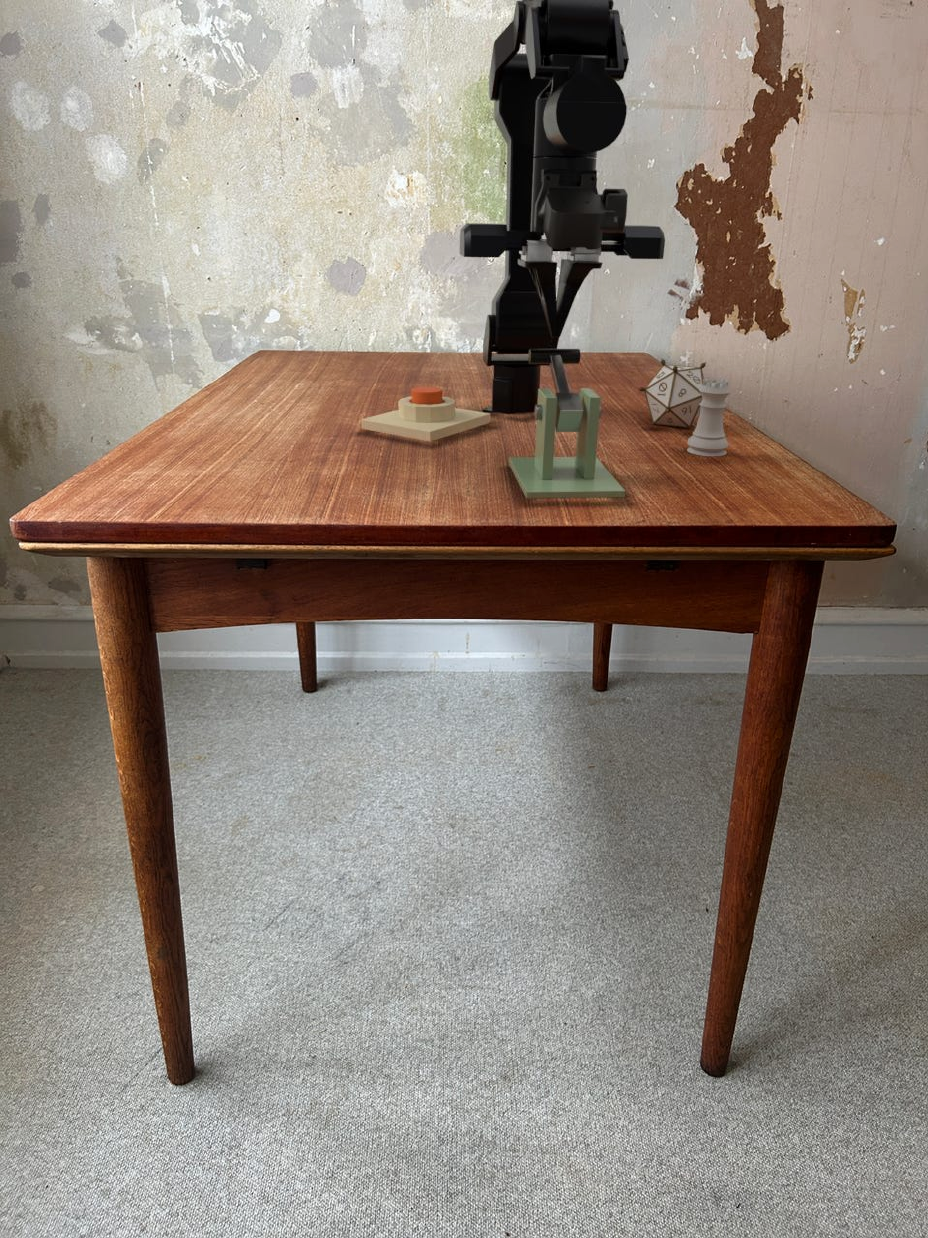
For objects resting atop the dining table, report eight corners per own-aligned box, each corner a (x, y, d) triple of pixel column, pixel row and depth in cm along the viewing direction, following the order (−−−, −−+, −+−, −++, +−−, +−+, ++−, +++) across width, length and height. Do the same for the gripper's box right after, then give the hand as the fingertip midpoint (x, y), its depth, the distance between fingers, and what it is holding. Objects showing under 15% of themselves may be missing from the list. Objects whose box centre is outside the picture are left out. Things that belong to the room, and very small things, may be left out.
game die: (682, 457, 110) (739, 392, 107) (670, 447, 102) (731, 376, 99) (629, 413, 112) (683, 348, 110) (613, 400, 105) (671, 329, 102)
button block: (424, 416, 112) (424, 388, 111) (490, 427, 107) (490, 398, 106) (361, 433, 103) (360, 403, 102) (430, 446, 98) (430, 415, 97)
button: (424, 400, 106) (424, 385, 106) (448, 403, 104) (448, 388, 104) (405, 404, 104) (405, 389, 103) (430, 408, 102) (429, 393, 101)
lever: (527, 362, 89) (529, 341, 88) (576, 362, 90) (579, 341, 88) (541, 432, 82) (544, 410, 81) (594, 431, 83) (598, 410, 81)
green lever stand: (508, 468, 91) (511, 380, 87) (595, 467, 91) (602, 380, 88) (526, 504, 80) (530, 406, 76) (624, 503, 80) (633, 405, 77)
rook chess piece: (704, 463, 93) (714, 386, 90) (676, 454, 97) (685, 379, 94) (736, 459, 95) (747, 383, 92) (707, 449, 99) (717, 376, 95)
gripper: (471, 151, 73) (468, 348, 80) (693, 156, 74) (671, 349, 81) (460, 157, 83) (458, 332, 90) (655, 161, 85) (639, 332, 91)
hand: (555, 336), depth 88 cm, fingers closed
